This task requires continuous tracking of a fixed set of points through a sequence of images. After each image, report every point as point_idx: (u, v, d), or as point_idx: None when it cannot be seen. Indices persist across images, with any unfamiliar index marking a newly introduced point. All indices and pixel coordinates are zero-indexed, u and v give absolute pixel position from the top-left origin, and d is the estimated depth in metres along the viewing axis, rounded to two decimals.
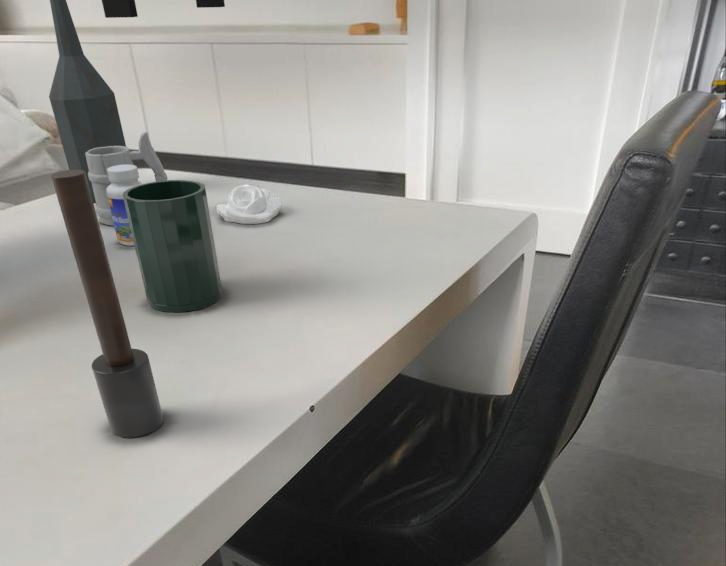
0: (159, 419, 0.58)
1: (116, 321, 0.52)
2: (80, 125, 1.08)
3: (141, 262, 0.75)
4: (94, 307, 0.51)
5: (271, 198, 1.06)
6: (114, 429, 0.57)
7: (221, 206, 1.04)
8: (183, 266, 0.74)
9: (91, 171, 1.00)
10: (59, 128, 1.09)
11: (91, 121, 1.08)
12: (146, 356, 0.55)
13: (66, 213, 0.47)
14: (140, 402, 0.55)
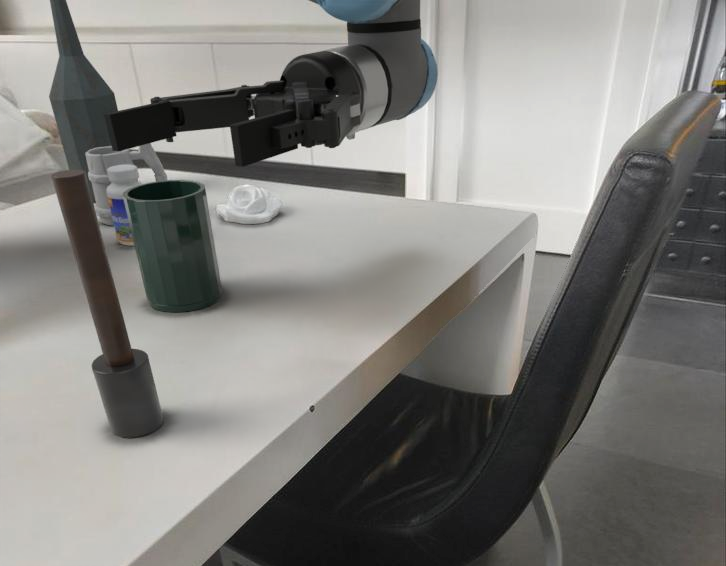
0: (159, 419, 0.58)
1: (116, 321, 0.52)
2: (80, 125, 1.08)
3: (141, 262, 0.75)
4: (94, 307, 0.51)
5: (271, 198, 1.06)
6: (114, 429, 0.57)
7: (221, 206, 1.04)
8: (183, 266, 0.74)
9: (91, 171, 1.00)
10: (59, 128, 1.09)
11: (91, 121, 1.08)
12: (146, 356, 0.55)
13: (66, 213, 0.47)
14: (140, 402, 0.55)
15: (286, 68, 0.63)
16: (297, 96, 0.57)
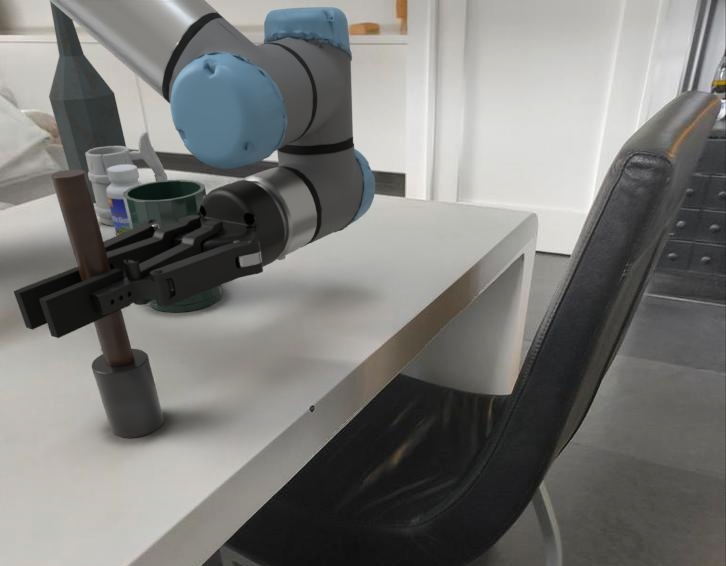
0: (159, 419, 0.58)
1: (116, 321, 0.52)
2: (80, 125, 1.08)
3: None
4: None
5: None
6: (114, 429, 0.57)
7: None
8: None
9: (91, 171, 1.00)
10: (59, 128, 1.09)
11: (91, 121, 1.08)
12: (146, 356, 0.55)
13: (66, 213, 0.47)
14: (140, 402, 0.55)
15: (204, 199, 0.60)
16: (183, 241, 0.55)
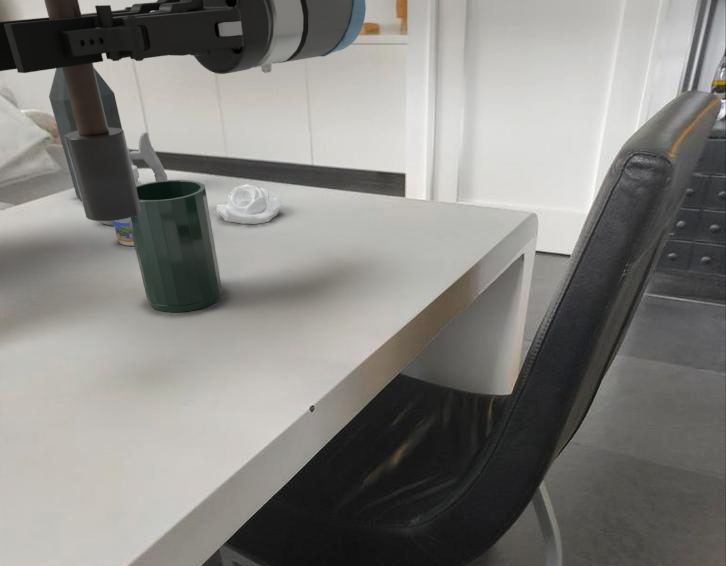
0: (136, 206, 0.55)
1: (88, 79, 0.50)
2: None
3: (141, 262, 0.75)
4: None
5: (271, 198, 1.06)
6: (88, 212, 0.54)
7: (221, 206, 1.04)
8: (183, 266, 0.74)
9: None
10: (59, 128, 1.09)
11: None
12: (121, 130, 0.53)
13: None
14: (115, 178, 0.53)
15: None
16: (161, 8, 0.52)
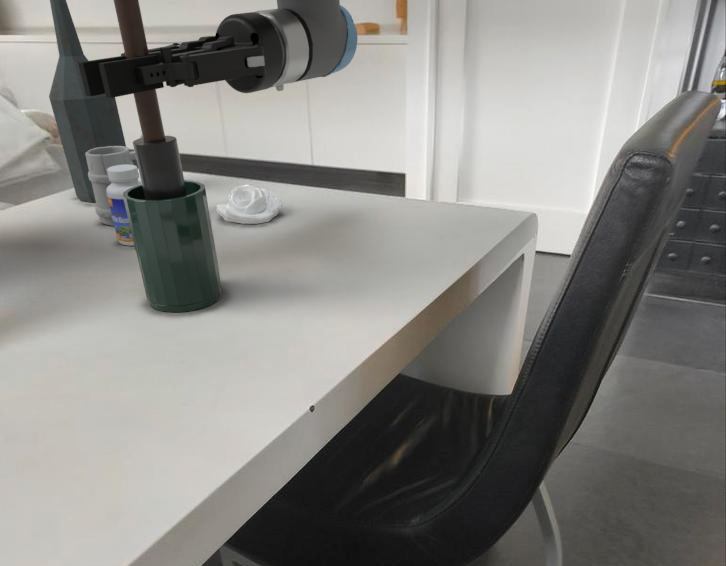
0: (184, 194, 0.73)
1: (153, 100, 0.67)
2: (80, 125, 1.08)
3: (141, 262, 0.75)
4: None
5: (271, 198, 1.06)
6: None
7: (221, 206, 1.04)
8: (183, 266, 0.74)
9: (91, 171, 1.00)
10: (59, 128, 1.09)
11: (91, 121, 1.08)
12: (175, 137, 0.70)
13: (118, 1, 0.62)
14: (170, 173, 0.71)
15: (219, 26, 0.75)
16: (203, 46, 0.70)
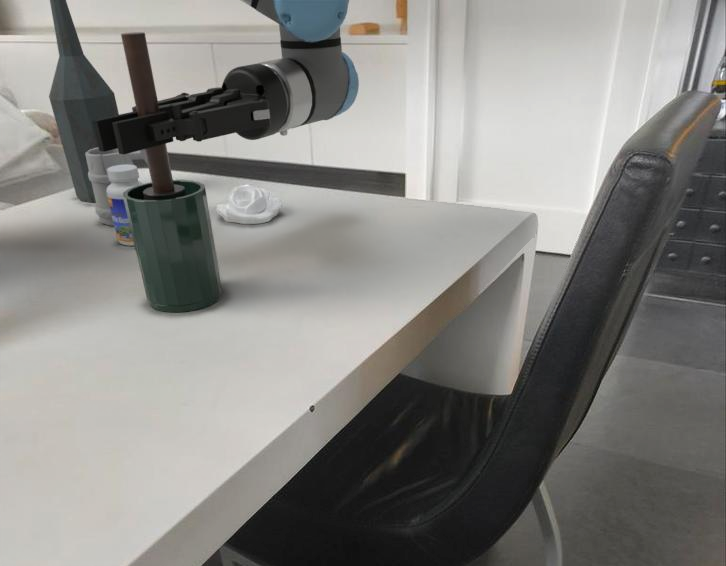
0: None
1: (163, 154, 0.70)
2: (80, 125, 1.08)
3: (141, 262, 0.75)
4: None
5: (271, 198, 1.06)
6: None
7: (221, 206, 1.04)
8: (183, 266, 0.74)
9: (91, 171, 1.00)
10: (59, 128, 1.09)
11: (91, 121, 1.08)
12: (183, 187, 0.73)
13: (131, 63, 0.65)
14: None
15: (226, 77, 0.78)
16: (211, 100, 0.73)
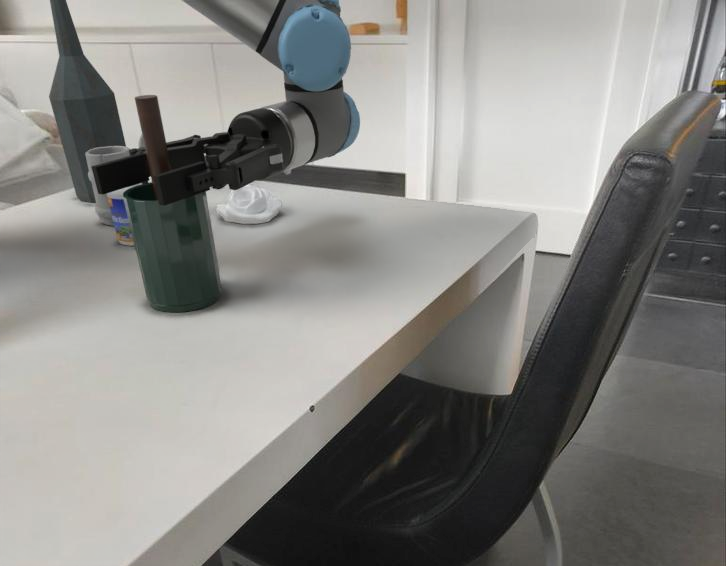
0: None
1: None
2: (80, 125, 1.08)
3: (141, 262, 0.75)
4: None
5: (271, 198, 1.06)
6: None
7: (221, 206, 1.04)
8: (183, 266, 0.74)
9: (91, 171, 1.00)
10: (59, 128, 1.09)
11: (91, 121, 1.08)
12: None
13: (144, 124, 0.68)
14: None
15: (232, 122, 0.81)
16: (228, 147, 0.75)
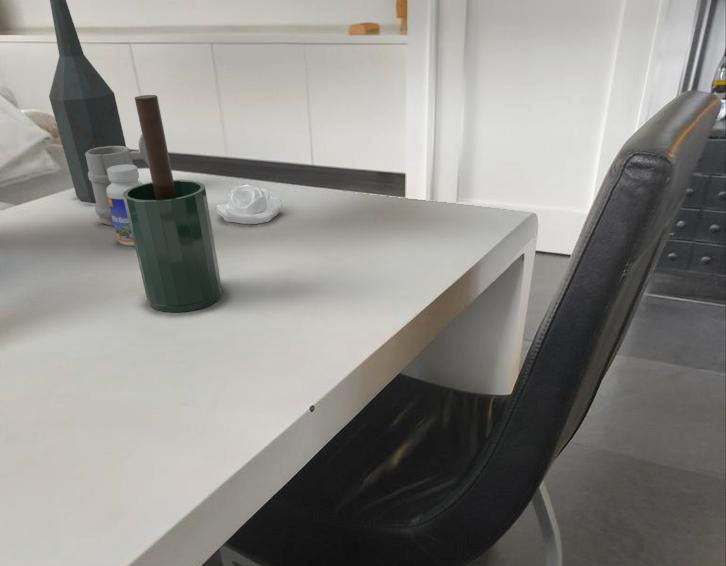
0: None
1: None
2: (80, 125, 1.08)
3: (141, 262, 0.75)
4: (159, 195, 0.72)
5: (271, 198, 1.06)
6: None
7: (221, 206, 1.04)
8: (183, 266, 0.74)
9: (91, 171, 1.00)
10: (59, 128, 1.09)
11: (91, 121, 1.08)
12: None
13: (144, 124, 0.68)
14: None
15: None
16: None
